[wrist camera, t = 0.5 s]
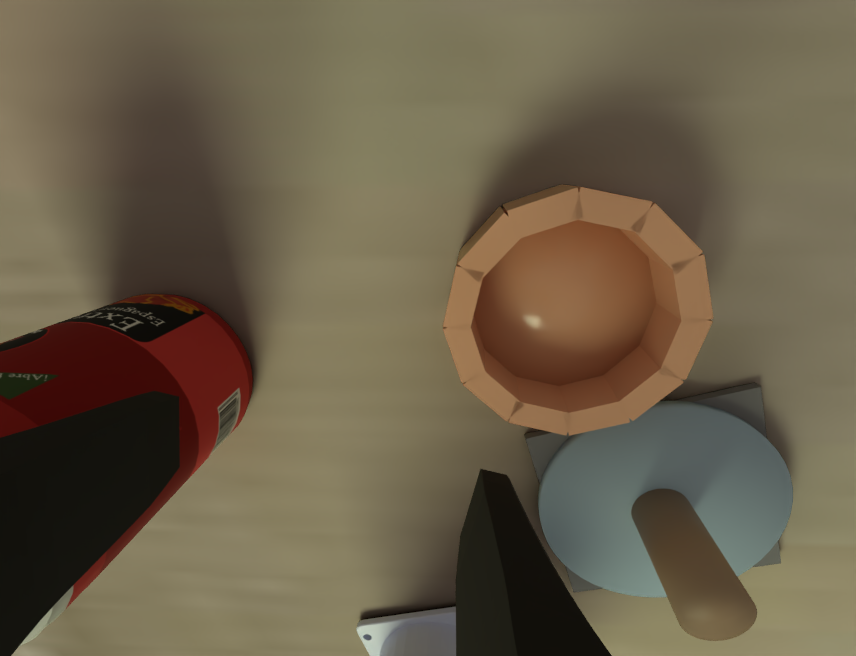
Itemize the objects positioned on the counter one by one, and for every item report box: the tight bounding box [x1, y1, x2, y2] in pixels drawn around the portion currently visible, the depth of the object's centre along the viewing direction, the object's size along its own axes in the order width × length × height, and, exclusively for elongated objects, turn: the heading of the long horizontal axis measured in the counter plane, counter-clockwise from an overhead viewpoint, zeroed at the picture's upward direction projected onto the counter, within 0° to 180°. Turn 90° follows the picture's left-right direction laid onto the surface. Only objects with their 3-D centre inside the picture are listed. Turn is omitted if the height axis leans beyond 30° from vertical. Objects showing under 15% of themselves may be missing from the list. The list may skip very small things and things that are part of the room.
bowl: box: [443, 184, 713, 436], centre depth 17 cm, size 9×9×3 cm
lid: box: [538, 400, 793, 641], centre depth 18 cm, size 11×11×6 cm
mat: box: [525, 383, 781, 592], centre depth 21 cm, size 10×10×1 cm
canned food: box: [0, 294, 253, 646], centre depth 16 cm, size 8×8×11 cm
